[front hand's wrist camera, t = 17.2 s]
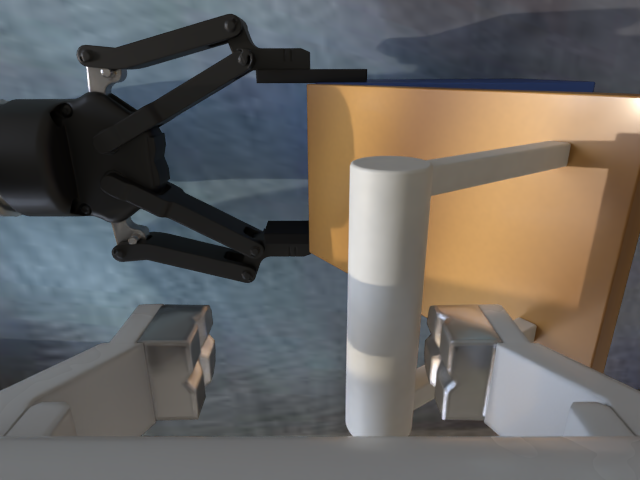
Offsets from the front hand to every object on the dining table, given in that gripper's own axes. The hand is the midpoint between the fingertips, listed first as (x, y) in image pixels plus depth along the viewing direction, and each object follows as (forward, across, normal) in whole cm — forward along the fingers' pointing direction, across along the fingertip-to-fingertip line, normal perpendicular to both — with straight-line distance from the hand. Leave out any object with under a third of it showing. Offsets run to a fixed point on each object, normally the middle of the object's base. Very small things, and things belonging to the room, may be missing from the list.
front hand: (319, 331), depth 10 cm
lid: (+10, +5, 0) cm, 11 cm away
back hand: (+21, +3, 0) cm, 21 cm away
